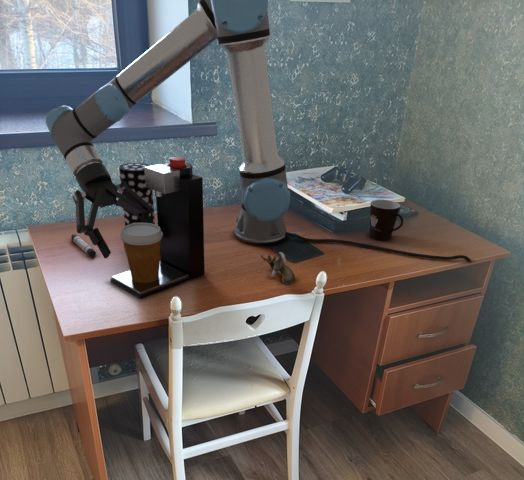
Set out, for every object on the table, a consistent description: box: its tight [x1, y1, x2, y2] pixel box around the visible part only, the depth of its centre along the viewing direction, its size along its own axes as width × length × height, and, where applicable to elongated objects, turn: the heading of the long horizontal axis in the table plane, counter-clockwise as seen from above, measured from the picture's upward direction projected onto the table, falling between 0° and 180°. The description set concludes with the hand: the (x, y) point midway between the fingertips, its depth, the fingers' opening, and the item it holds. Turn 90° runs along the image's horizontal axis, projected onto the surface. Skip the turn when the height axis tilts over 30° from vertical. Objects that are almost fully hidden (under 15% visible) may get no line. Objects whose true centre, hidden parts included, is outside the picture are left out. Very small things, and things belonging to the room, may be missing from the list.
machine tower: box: [155, 162, 206, 281], centre depth 129 cm, size 12×6×26 cm, turn 47°
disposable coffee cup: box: [119, 223, 163, 283], centre depth 125 cm, size 10×10×12 cm
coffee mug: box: [368, 199, 404, 242], centre depth 158 cm, size 12×9×10 cm
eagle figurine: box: [260, 251, 296, 285], centre depth 133 cm, size 8×7×9 cm
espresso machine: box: [109, 163, 192, 300], centre depth 123 cm, size 12×15×26 cm
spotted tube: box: [118, 162, 156, 226], centre depth 147 cm, size 8×8×20 cm
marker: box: [70, 234, 97, 258], centre depth 145 cm, size 15×2×2 cm, turn 36°
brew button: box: [168, 156, 186, 168], centre depth 122 cm, size 4×4×2 cm
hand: (132, 248), depth 127 cm, fingers open, 13 cm apart
